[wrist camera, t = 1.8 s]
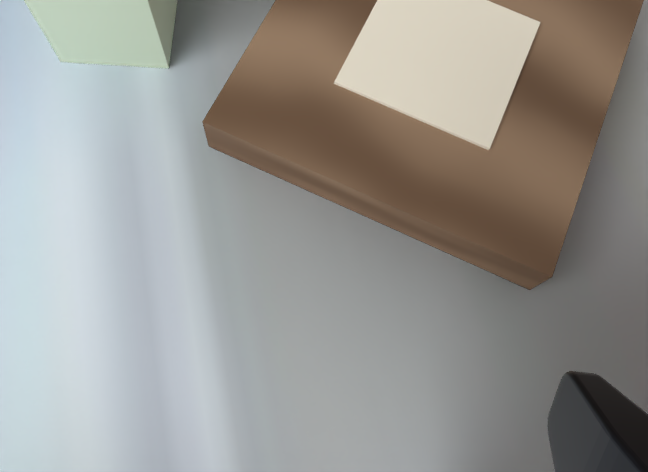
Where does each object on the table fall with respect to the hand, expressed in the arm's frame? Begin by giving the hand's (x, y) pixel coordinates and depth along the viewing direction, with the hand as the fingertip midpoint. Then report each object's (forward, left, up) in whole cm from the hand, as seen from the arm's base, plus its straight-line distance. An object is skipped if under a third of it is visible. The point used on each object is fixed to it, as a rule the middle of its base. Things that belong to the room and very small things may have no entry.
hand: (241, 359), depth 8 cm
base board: (+12, +9, -13) cm, 20 cm away
